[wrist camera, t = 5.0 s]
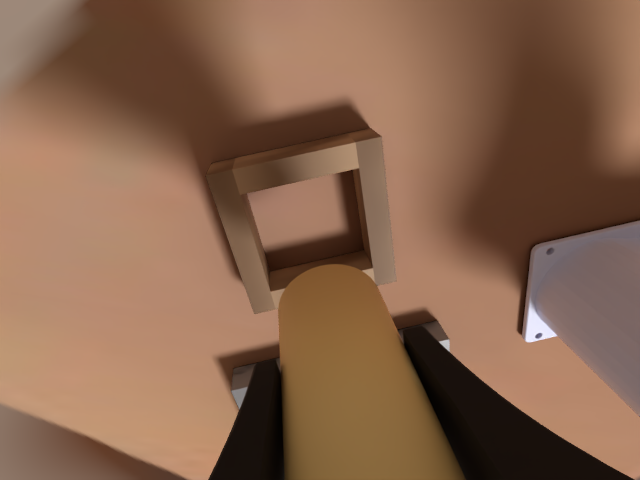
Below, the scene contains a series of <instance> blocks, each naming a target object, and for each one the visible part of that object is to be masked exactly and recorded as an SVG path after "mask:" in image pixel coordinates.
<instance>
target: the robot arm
mask: <svg viewBox="0 0 640 480" xmlns="http://www.w3.org/2000/svg"><path fill="white" fill-rule="evenodd" d="M549 248H550V249H549ZM548 249H549V250H548ZM547 250H548V251H547ZM555 336H558V337H559V338H560V339H561V340H562V341H563V342H564V343H565V344H566V345H567V346H568V347H569V348H570V349H571V350H572V351H573V352H575V353H576V354H577V355H578V356H579V357H580V358H581V359H582V360H583V361H584V362H585V363H586V364H587V365H588V366H589V367H590V368H591V369H592V370H593V371H594V372H595V373H596V374H597V375H598V376H599V377H600V378H601V379H602V380H603V381H604V382H605V383H606V384H607V385H608V386H609V387H610V388H611V389H612V390H613V391H614V392H615V393H616V394H617V395H618V396H619V397H620V398H621V399H622V400H623V401H624V402H625V403H626V404H627V405H628V406H629V407H630V408H631V409H632V410H633V411H634V412H635V413H636V414H637V415H638V416H639V417H640V221H635V222H631V223H627V224H622V225H618V226H614V227H609V228H605V229H601V230H596V231H592V232H588V233H583V234H579V235H575V236H570V237H566V238H562V239H557V240H553V241H549V242H544V243H540V244H537V245H536V246H534V247H533V249H532V251H531V257H530V267H529V276H528V285H527V294H526V304H525V313H524V322H523V331H522V338H523V339H524V340H525V341H526V342H534V341H538V340H542V339H546V338H551V337H555ZM403 340H404V346H405V348H406V350H407V352H408V355H409V357H410V359H411V361H412V363H413V365H414V368H415V370H416V372H417V374H418V376H419V378H420V381H421V383H422V385H423V387H424V389H425V391H426V394H427V396H428V398H429V400H430V402H431V405H432V407H433V409H434V411H435V413H436V415H437V418H438V420H439V422H440V424H441V426H442V428H443V431H444V433H445V435H446V437H447V439H448V441H449V444H450V446H451V448H452V450H453V452H454V455H455V457H456V459H457V461H458V463H459V465H460V468H461V470H462V472H463V474H464V476H465V478H466V480H634V479H632V478H630V477H629V476H627V475H625V474H623V473H621V472H619V471H617V470H616V469H614V468H612V467H610V466H608V465H607V464H605V463H603V462H601V461H600V460H598V459H596V458H595V457H593V456H591V455H590V454H588V453H586V452H585V451H583V450H581V449H579V448H578V447H576V446H574V445H573V444H571V443H569V442H568V441H566V440H564V439H563V438H561V437H559V436H558V435H556V434H555V433H553V432H552V431H550V430H549V429H547V428H546V427H544V426H543V425H541V424H540V423H538V422H537V421H535V420H534V419H532V418H531V417H529V416H528V415H526V414H525V413H524V412H522V411H521V410H519V409H518V408H517V407H515V406H514V405H513V404H511V403H510V402H509V401H507V400H506V399H505V398H503V397H502V396H501V395H499V394H498V393H497V392H496V391H494V390H493V389H492V388H490V387H489V386H488V385H487V384H485V383H484V382H483V381H482V380H481V379H479V378H478V377H477V376H476V375H475V374H474V373H472V372H471V371H470V370H469V369H468V368H467V367H465V366H464V365H463V364H462V363H461V362H460V361H459V360H458V359H456V358H455V357H454V356H453V355H452V354H451V353H450V352H449V351H448V350H447V349H446V348H445V347H444V346H443V345H442V344H441V343H440V342H439V341H438V340H437V339H435V338H434V336H433V335H432V334H431V333H430V332H429V331H428V330H427V329H426V328H425V327H423V326H417V327H413V328H409V329H404V330H403ZM208 480H285V477H284V450H283V424H282V397H281V373H280V370H279V367H278V364H277V361H276V359H274V360H269V361H265V362H260V363H256V365H255V366H254V368H253V372H252V375H251V378H250V382H249V385H248V388H247V391H246V393H245V396H244V399H243V402H242V405H241V407H240V410H239V412H238V415H237V417H236V420H235V422H234V425H233V427H232V430H231V432H230V434H229V437H228V439H227V441H226V443H225V446H224V448H223V450H222V452H221V454H220V457H219V459H218V461H217V463H216V465H215V467H214V469H213V471H212V473H211V475H210V477H209V479H208Z"/></svg>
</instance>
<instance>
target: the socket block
mask: <svg viewBox="0 0 640 480" xmlns="http://www.w3.org/2000/svg"><path fill="white" fill-rule="evenodd" d="M348 170H352V171H353V178H354V184H355V191H356V198H357V204H358V211H359V218H360V225H361V231H362V238H363V245H364V250H362V251H358V252H354V253H349V254H345V255H341V256H336V257H332V258H328V259H323V260H319V261H314V262H310V263H306V264H301V265H297V266H293V267H288V268H284V269H280V270H275V271H271V272H270V269H269V266H268V263H267V259H266V256H265V253H264V250H263V246H262V243H261V240H260V236H259V233H258V230H257V226H256V223H255V220H254V217H253V213H252V210H251V207H250V203H249V200H248V197H247V194H246V193H250V192H254V191H259V190H263V189H268V188H272V187H277V186H281V185H286V184H290V183H295V182H299V181H304V180H308V179H313V178H317V177H322V176H326V175H331V174H335V173H339V172H344V171H348ZM206 179H207V181H208V184H209V187H210V190H211V193H212V196H213V198H214V201H215V204H216V207H217V210H218V213H219V215H220V218H221V221H222V224H223V227H224V230H225V232H226V235H227V238H228V241H229V244H230V247H231V249H232V252H233V255H234V258H235V261H236V264H237V266H238V269H239V272H240V275H241V278H242V281H243V283H244V286H245V289H246V292H247V295H248V298H249V300H250V303H251V306H252V309H253V312H254V314H258V313H262V312H266V311H270V310H275V309H278V307H279V301H280V298H281V296H282V293H283V292H284V290H285V289H286V287H287V286H288V285H289V284H290V282H291V281H293V280H294V279H295V278H296V277H297V276H299V275H300V274H302V273H304V272H305V271H307V270H310V269H312V268H315V267H318V266H322V265H329V264H341V265H347V266H351V267H354V268H357V269H359V270H361V271H363V272H364V273H366V274H367V275H368V276H369V277H371V279H372V280H373V281H374V282H375V284H376V285H377V286H378V285H383V284H387V283H391V282H396V281H397V279H396V270H395V260H394V250H393V241H392V231H391V222H390V212H389V202H388V193H387V183H386V173H385V164H384V154H383V145H382V136H380V135H379V134H378V133H376V132H375V131H374V130H372V129H371V128H369V129H364V130H360V131H355V132H351V133H346V134H342V135H337V136H333V137H328V138H324V139H319V140H315V141H310V142H305V143H301V144H296V145H292V146H287V147H283V148H278V149H274V150H269V151H265V152H260V153H256V154H251V155H247V156H242V157H238V158H233V159H228V160H224V161H219V162H215V163H211V165H210V167H209V170H208V172H207V174H206Z"/></svg>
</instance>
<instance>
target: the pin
mask: <svg viewBox="0 0 640 480" xmlns="http://www.w3.org/2000/svg"><path fill="white" fill-rule="evenodd" d="M278 318H279V344H280V371H281V397H282V424H283V450H284V477H285V480H466V478H465V476H464V474H463V472H462V470H461V468H460V465H459V463H458V461H457V459H456V457H455V455H454V452H453V450H452V448H451V446H450V444H449V441H448V439H447V437H446V435H445V433H444V431H443V428H442V426H441V424H440V422H439V420H438V418H437V415H436V413H435V411H434V409H433V407H432V405H431V402H430V400H429V398H428V396H427V394H426V391H425V389H424V387H423V385H422V383H421V381H420V378H419V376H418V374H417V372H416V370H415V368H414V365H413V363H412V361H411V359H410V357H409V355H408V352H407V350H406V348H405V346H404V344H403V341H402V339H401V337H400V335H399V333H398V331H397V328H396V326H395V324H394V322H393V320H392V318H391V315H390V313H389V311H388V309H387V307H386V305H385V302H384V300H383V298H382V296H381V294H380V292H379V289H378V287H377V285H376V284H375V282H374V281H373V280H372V279H371V277H369V276H368V275H367V274H366V273H364V272H363V271H361V270H359V269H357V268H354V267H351V266H347V265H341V264H329V265H322V266H318V267H315V268H312V269H310V270H307V271H305V272H304V273H302V274H300V275H299V276H297V277H296V278H295V279H294V280H293V281H291V282H290V284H289V285H288V286H287V287H286V289H285V290H284V292H283V293H282V296H281V298H280V301H279V307H278Z"/></svg>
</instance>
